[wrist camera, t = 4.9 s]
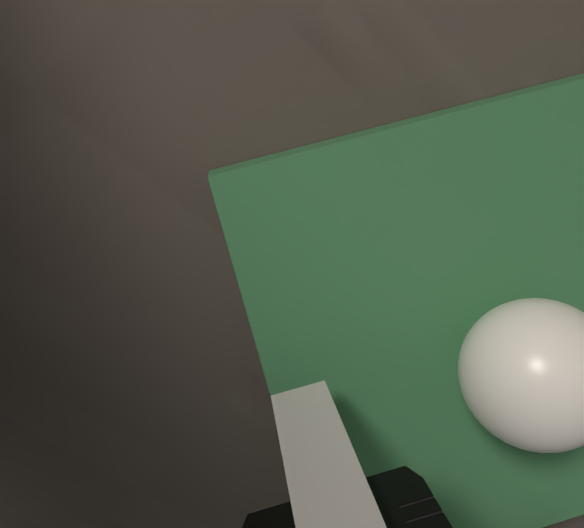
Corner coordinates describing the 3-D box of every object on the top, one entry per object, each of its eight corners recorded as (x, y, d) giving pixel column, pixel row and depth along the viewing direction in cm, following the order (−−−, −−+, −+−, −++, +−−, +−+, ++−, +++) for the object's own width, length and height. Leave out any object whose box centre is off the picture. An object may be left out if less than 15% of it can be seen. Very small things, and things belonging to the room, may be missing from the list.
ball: (446, 420, 17) (515, 508, 13) (424, 301, 15) (491, 357, 12) (567, 384, 17) (670, 459, 13) (552, 265, 16) (660, 307, 12)
